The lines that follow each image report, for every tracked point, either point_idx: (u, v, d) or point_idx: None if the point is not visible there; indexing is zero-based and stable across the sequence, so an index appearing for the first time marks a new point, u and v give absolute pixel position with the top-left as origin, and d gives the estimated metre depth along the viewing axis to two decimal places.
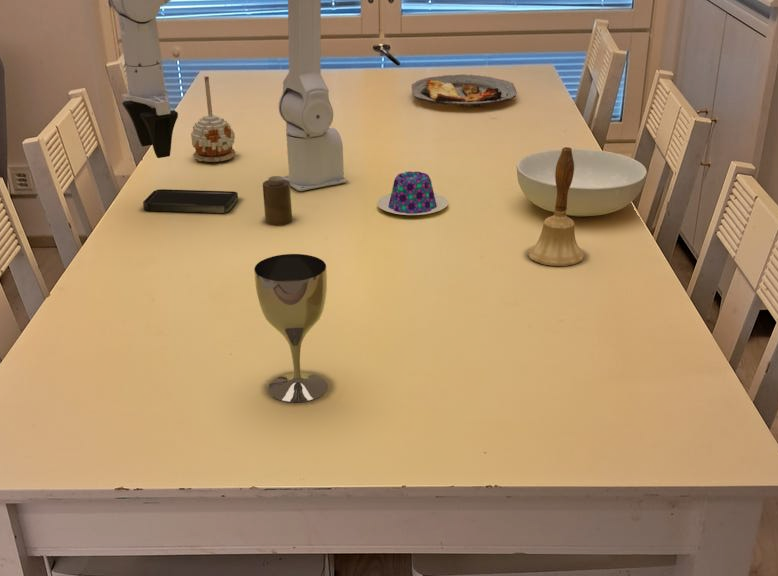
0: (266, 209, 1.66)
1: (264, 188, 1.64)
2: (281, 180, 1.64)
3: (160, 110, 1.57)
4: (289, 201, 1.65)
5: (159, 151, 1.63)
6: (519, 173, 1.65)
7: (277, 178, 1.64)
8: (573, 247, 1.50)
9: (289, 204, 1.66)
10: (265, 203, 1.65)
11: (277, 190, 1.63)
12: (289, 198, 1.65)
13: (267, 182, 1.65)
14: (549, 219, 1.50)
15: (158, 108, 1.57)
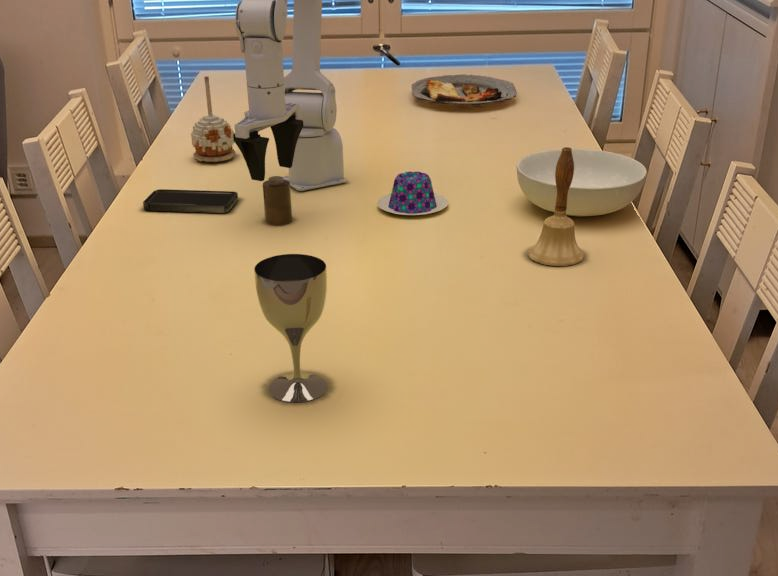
0: (266, 209, 1.66)
1: (264, 188, 1.64)
2: (281, 180, 1.64)
3: (237, 132, 1.54)
4: (289, 201, 1.65)
5: (252, 173, 1.60)
6: (519, 173, 1.65)
7: (277, 178, 1.64)
8: (573, 247, 1.50)
9: (289, 204, 1.66)
10: (265, 203, 1.65)
11: (277, 190, 1.63)
12: (289, 198, 1.65)
13: (267, 182, 1.65)
14: (549, 219, 1.50)
15: (235, 130, 1.54)
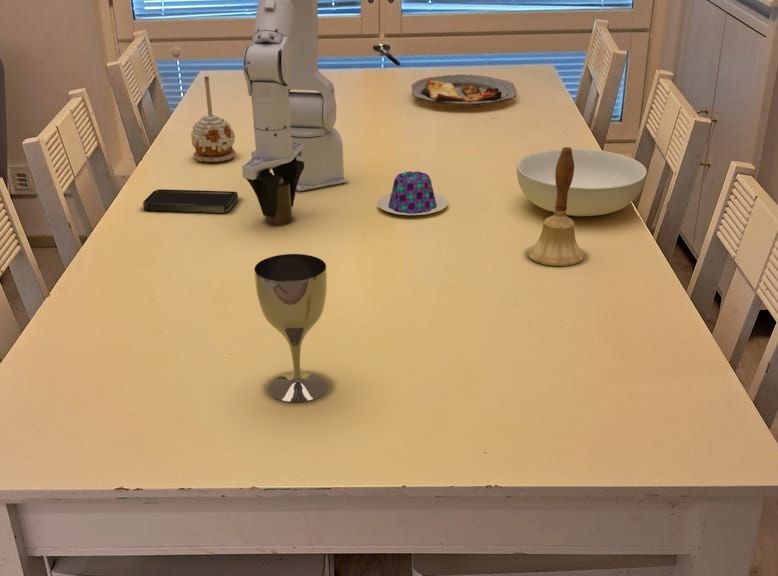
0: None
1: None
2: (281, 180, 1.64)
3: (244, 173, 1.58)
4: (289, 201, 1.65)
5: (263, 209, 1.65)
6: (519, 173, 1.65)
7: None
8: (573, 247, 1.50)
9: (289, 204, 1.66)
10: None
11: (277, 190, 1.63)
12: (289, 198, 1.65)
13: None
14: (549, 219, 1.50)
15: (243, 171, 1.58)
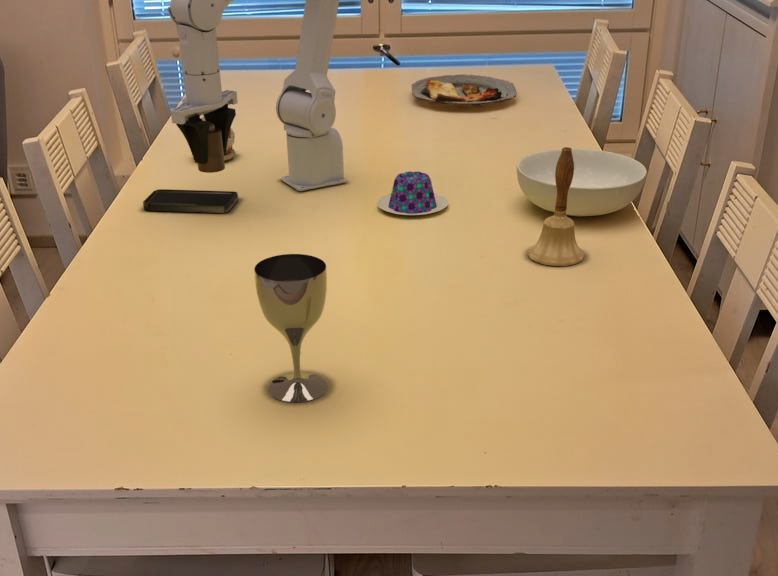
0: None
1: None
2: (212, 127, 1.64)
3: (173, 118, 1.59)
4: (221, 148, 1.66)
5: (195, 156, 1.66)
6: (519, 173, 1.65)
7: None
8: (573, 247, 1.50)
9: (221, 151, 1.66)
10: None
11: (208, 136, 1.64)
12: (221, 145, 1.66)
13: None
14: (549, 219, 1.50)
15: (171, 116, 1.59)
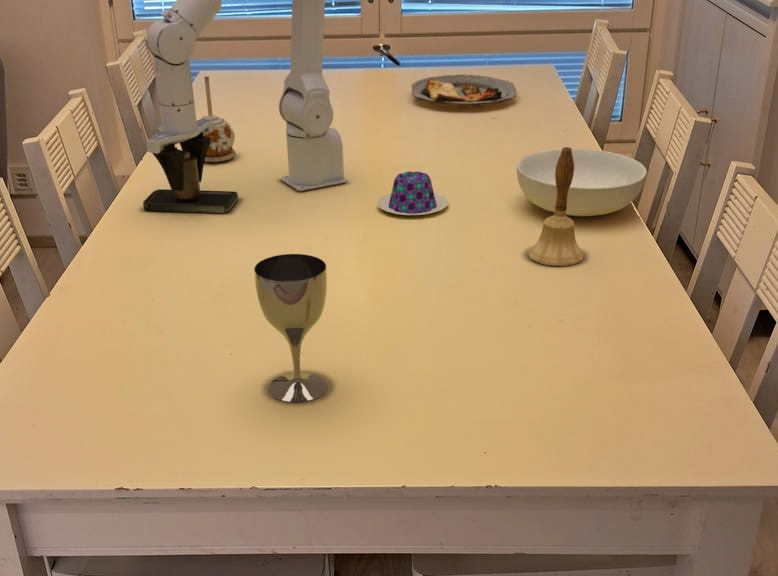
0: None
1: None
2: (187, 155, 1.70)
3: (148, 148, 1.64)
4: (196, 175, 1.71)
5: (171, 183, 1.71)
6: (519, 173, 1.65)
7: None
8: (573, 247, 1.50)
9: (196, 178, 1.72)
10: None
11: (183, 164, 1.69)
12: (196, 173, 1.71)
13: None
14: (549, 219, 1.50)
15: (147, 145, 1.64)
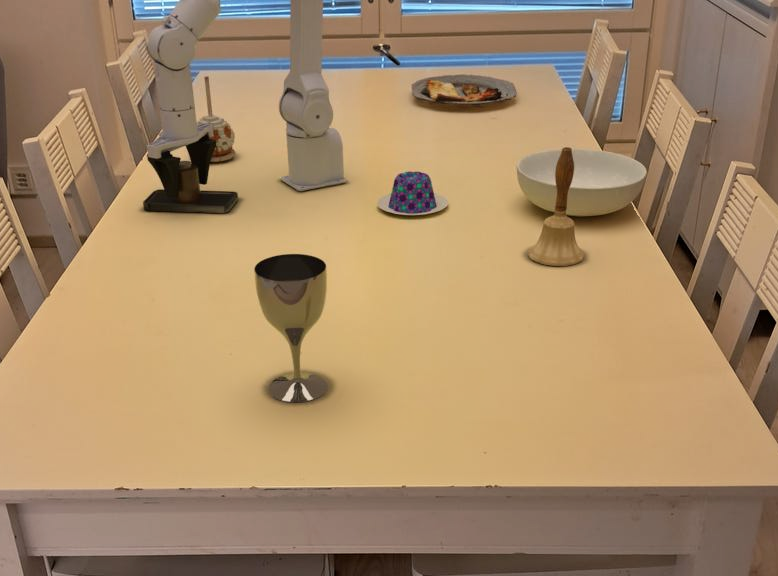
0: None
1: None
2: (188, 164, 1.70)
3: (149, 153, 1.64)
4: (197, 185, 1.72)
5: (166, 190, 1.70)
6: (519, 173, 1.65)
7: (185, 163, 1.71)
8: (573, 247, 1.50)
9: (197, 188, 1.72)
10: None
11: (185, 174, 1.70)
12: (197, 182, 1.72)
13: None
14: (549, 219, 1.50)
15: (148, 150, 1.64)
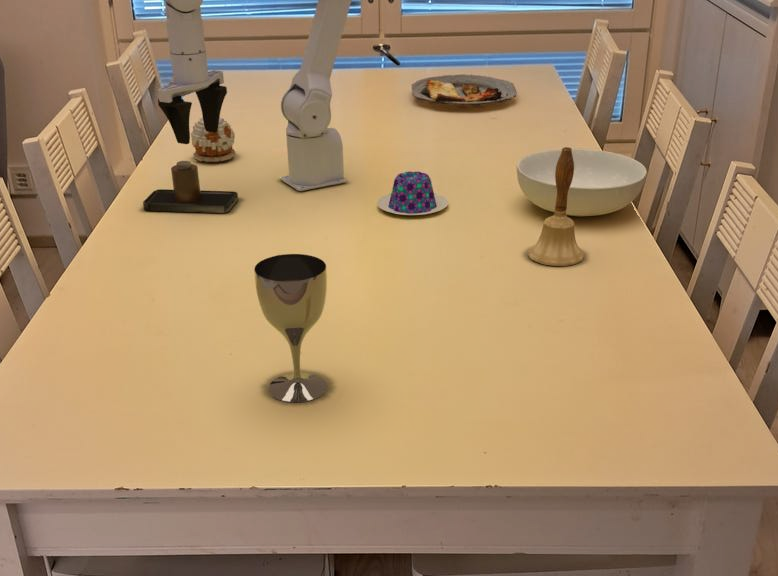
0: (175, 192, 1.73)
1: (172, 172, 1.71)
2: (188, 164, 1.70)
3: (160, 97, 1.63)
4: (197, 185, 1.72)
5: (177, 136, 1.69)
6: (519, 173, 1.65)
7: (185, 163, 1.71)
8: (573, 247, 1.50)
9: (197, 188, 1.72)
10: (174, 187, 1.72)
11: (185, 174, 1.70)
12: (197, 182, 1.72)
13: (176, 166, 1.72)
14: (549, 219, 1.50)
15: (159, 94, 1.63)
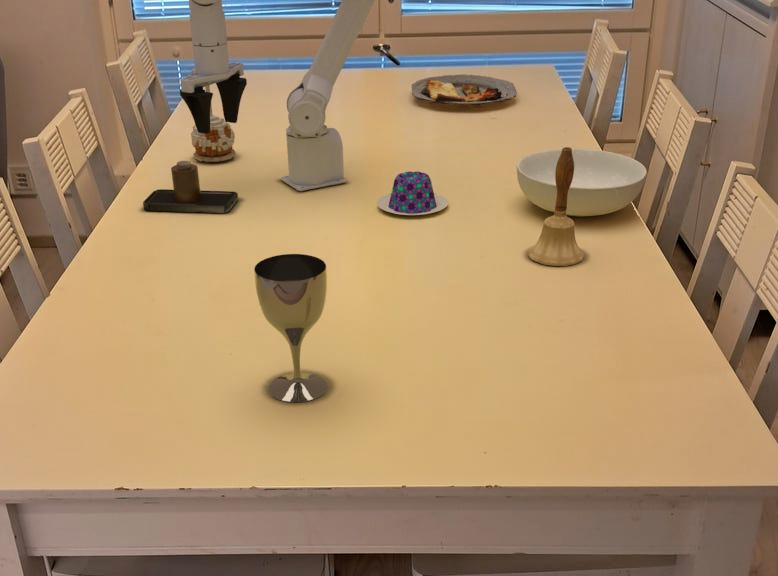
0: (175, 192, 1.73)
1: (172, 172, 1.71)
2: (188, 164, 1.70)
3: (183, 87, 1.68)
4: (197, 185, 1.72)
5: (198, 126, 1.74)
6: (519, 173, 1.65)
7: (185, 163, 1.71)
8: (573, 247, 1.50)
9: (197, 188, 1.72)
10: (174, 187, 1.72)
11: (185, 174, 1.70)
12: (197, 182, 1.72)
13: (176, 166, 1.72)
14: (549, 219, 1.50)
15: (181, 85, 1.68)
